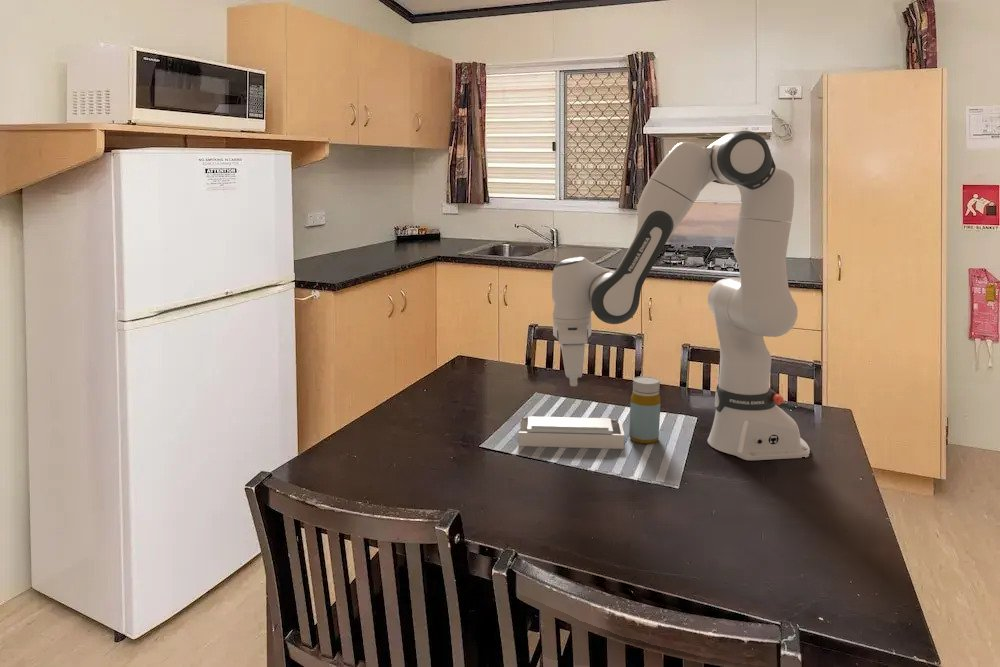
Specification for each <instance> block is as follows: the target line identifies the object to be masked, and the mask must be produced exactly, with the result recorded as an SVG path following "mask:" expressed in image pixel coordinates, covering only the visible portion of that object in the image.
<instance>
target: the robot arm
mask: <svg viewBox="0 0 1000 667" xmlns="http://www.w3.org/2000/svg"><path fill="white" fill-rule="evenodd" d="M712 182H713V183H716V184H721V185H728V186H736V187H737V189H738V191H739V193H740V201H741V203H740V208H739V212H738V219H737V224H736V232H735V238H734V243H733V256H734V258H735V259H736V261H737V265H738V270H739V277H728V278H727V277H726V278H722V279H719V280H718V281H716V282H715V283H714V284H713V285H712V286H711V288H710V290H709V291H708V294H707V305H708V308H709V309H710V311H711V313H712V315H713V318H714V323H715V327H716V332H717V333H716V334H717V338H718V343H719V344H718V345H719V356H720V358H719V372H718V373H719V376H718V383H717V384H716V390H715V396H714V397H715V398H714V407H715V411H714V412H715V413H714V419H713V423H712V426H711V429H710V433H709V436H708V437H707V441H706V442H707V443H708V445H709V446H710V447H711V448H714V449H715V450H717V451H719V452H722V453H726V454H728V455H733V456H736V457H738V458H740V459H742V460H745V461H764V460H765V461H766V460H782V459H783V460H784V459H785V460H786V459H787V460H788V459H803V458H802V457H805V458H808V457H809V456H810V455H809V454H811V451H810V450H811V449H810V445H808V443H807V442H806V440H805V439H803V438H802V437H801V433H800V429H799V426H798V423H797V422H796V421H795V419H793V418H792V417H791V415H789V414H788V413H787V412H785V410H783V409H782V408H780V407H779V406H780V405H782V404H783V403H784V401H785V399H784V397H783V396H782V395H781V394H779V393H777V392H776V391H775V390H774V389H772V388H770V378H771V367H772V356H771V353H770V351H769V349H768V348H767V344H766V343H765V340H764V337H767V338H768V337H771V338H773V337H774V338H777V337H781V336H782V337H783V336H784V335H786V334H787V333H788V332H790V331H791V330H792V328H794V326H795V324H796V322H797V319H798V312H799V311H798V306H797V303H796V301H795V300H794V298H793V296H792V294H791V292H790V287H789V282H788V275H787V274H788V273H787V252H788V247H789V246H788V245H789V238H790V234H791V233H790V232H791V227H792V221H793V214H794V206H795V205H794V203H795V182H794V179H793V176H792V175H791V174H790V173H789V172H787V171H785V170H784V169H781V168H778V167H777V166H776V163H775V161H774V158H773V156H772V153H771V148H770V147H769V144H768V141H766V139H765V138H764V136H762V135H760V134H758V133H756V132H755V131H751V130H739V131H734V132H730V133H727V134H725V135H723V136H722V137H719V138H717V139H716V140H714V141H713V142H710V143H709V144H708V145H706V146H702V145H700V144H698V143H695V142H693V141H691V142H690V141H681V142H679V143H677V144H676V145H674V146H673V147H672V149H670V150H669V152H668V153H667V154H666V155H665V156H664V158H663V159H662V161H661V162H660V163H659V164H658V166H657V167H656V168H655V170H654V171H653V173H652V174H651V176H650V178H649V180H648V181H647V183H646V185H645V186H644V188H643V190H642V193H641V195H640V198H639V199H638V200H639V201H638V203H637V205H636V214H637V216H636V217H637V224H636V225H637V227H636V232H635V234H634V237H633V240H632V242H631V244H630V245H629V247H628V248H627V251H626V252H625V254H624V256H623V258H622V260H621V262H620V263H619V265H618V266H617V268H616V269H610V268H607V267H603V266H600V265H598V264H596V263H594V262H592V261H590V260H589V259H587V258H586V257H584V256H574V257H569V258H565V259H563V260H561V261H559V262H558V263H557V264H555V266H554V268H553V271H552V278H551V298H552V301H553V302H552V303H553V312H552V328H553V329H552V332H553V334H552V335H553V336H554V337H555V338H556V340H557V342H558V344H559V345H560V347H561V348H560V349H561V353H562V354H561V355H562V360H563V362H562V363H563V368H564V373H565V377H566V378H568V379H569V385H570V387H577V386H578V378H582V376H583V372H584V363H585V362H584V361H585V350H586V344H588V340H589V338H590V337H591V335H592V312H593V313H594V315H595V317H596V318H597V319H599V321H602V322H603V323H605V324H608V325H609V324H610V325H619V324H623V323H626V322H628V321H629V320H631V319H632V318H633V316H634V315H635V314H636V313H637V310H638V308H639V304H640V301H641V300H640V298H641V293H642V288H643V285H644V283H645V281H646V279H647V278H648V275H649V274H650V272H651V271H652V268H653V267H654V265H655V263H656V261H657V260H658V257H659V256H660V254H661V252H662V251H663V249H664V247H665V245H666V243H668V240H670V238H671V237H672V235H673V233H674V232H675V231H676V229H677V228H678V226H679V225H680V224H681V223H682V221H683V220H684V219H685V218H686V215H688V213H689V211H690V210H691V208H692V207H693V205H694V203H695V201H696V200H697V198H698V197H699V195H700V193H701V191H703V189H704V188H705V187H706V186H707V185H708V184H710V183H712Z"/></svg>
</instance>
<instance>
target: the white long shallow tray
mask: <svg viewBox="0 0 1000 667" xmlns="http://www.w3.org/2000/svg"><path fill="white" fill-rule="evenodd" d="M528 418H529V416H528V417H527V416H523V417H521V419H520V423H519V424H520V431H518V447H540V448H543V447H544V448H546V447H547V448H577V449H580V448H581V449H583V448H585V449H618V450H620V449H621V450H625V432H624V427H623V423H622V421H619V419H616V418H615V419H611V418H610V419H611V424H612V429H613V434H601V433H560V432H527V426H528Z"/></svg>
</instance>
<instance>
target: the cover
mask: <svg viewBox="0 0 1000 667" xmlns="http://www.w3.org/2000/svg"><path fill="white" fill-rule="evenodd" d="M527 432H562V433H601V434H613V429H612V424H611V418H610V417H609V418H608V417H577V416H576V417H571V416H568V417H566V416H564V417H563V416H536V415H535V416H534V415H533V416H531V415H530V416H529V415H528V426H527Z"/></svg>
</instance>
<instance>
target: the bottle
mask: <svg viewBox="0 0 1000 667" xmlns="http://www.w3.org/2000/svg"><path fill="white" fill-rule="evenodd" d="M660 387H661V386H660V379H659V378H657V377H653V376H648V375H640V376H636V377H634V378H633V380H632V394H631V396H630V404H629V405H630V408H629V409H630V410H629V429H628V430H629V431H628V432H629V434H628V436H629V439H630V440H631V441H632V442H634V443H636V444H641V445H651V444H654V443H656V442H657V441H658V440H659V437H660V420H661V419H660V418H661V401H662V400H661V397H660ZM650 443H651V444H650Z"/></svg>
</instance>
